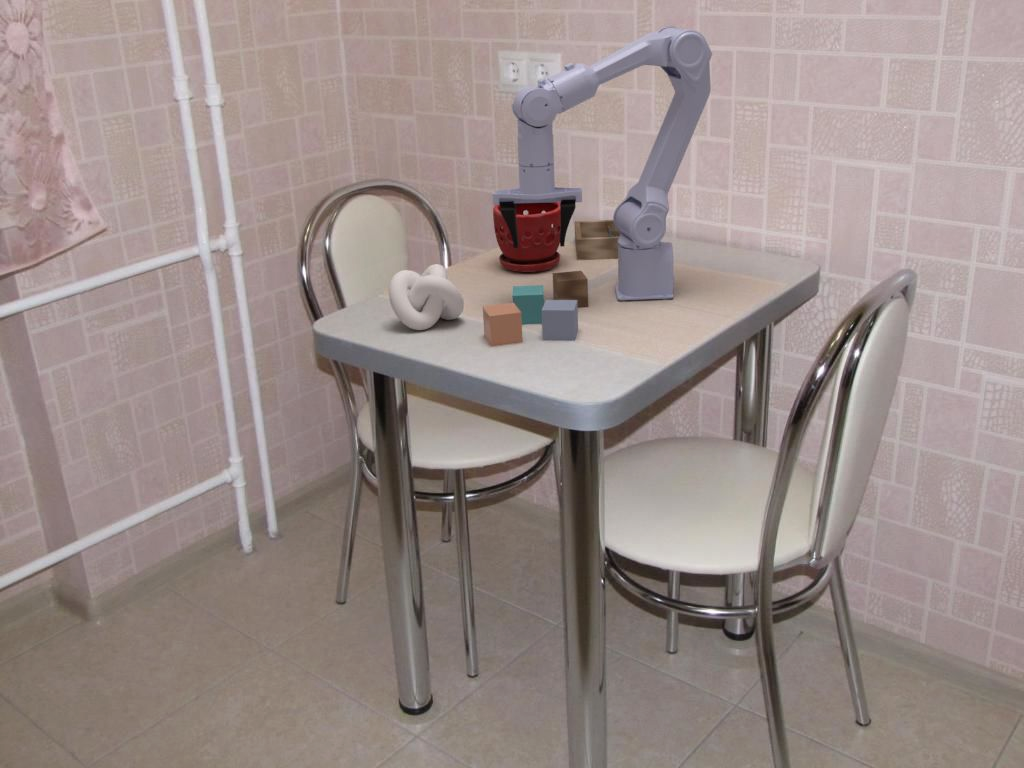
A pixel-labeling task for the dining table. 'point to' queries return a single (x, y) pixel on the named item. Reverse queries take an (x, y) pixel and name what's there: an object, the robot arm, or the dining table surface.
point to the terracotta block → (502, 324)
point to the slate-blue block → (560, 320)
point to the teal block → (529, 303)
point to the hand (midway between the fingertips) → (539, 245)
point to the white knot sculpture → (424, 297)
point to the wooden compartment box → (596, 240)
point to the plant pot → (530, 237)
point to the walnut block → (571, 287)
